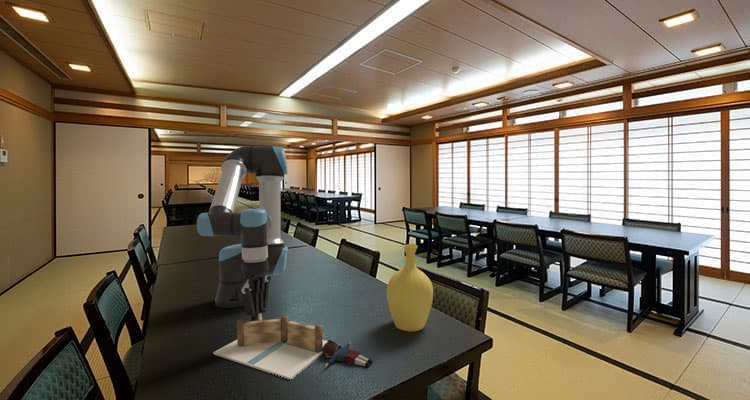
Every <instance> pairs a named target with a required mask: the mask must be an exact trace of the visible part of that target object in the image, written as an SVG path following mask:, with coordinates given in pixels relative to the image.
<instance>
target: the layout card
mask: <svg viewBox="0 0 750 400" xmlns="http://www.w3.org/2000/svg"><path fill="white" fill-rule="evenodd" d="M327 341H328V340H326V339H325V340H324V339H323V346H324V344H325V343H327ZM212 354H213V355H215V356H218V357H221V358H224V359H227V360H229V361H232V362H236V363H238V364H241V365H245V366H247V367H250V368H253V369H256V370H260V371H262V372H266V373H268V374H271V373H272V375H274V374H275V375H274V376H277V375H278V376H277V377H280V376H281V377H280V378H283V377H284V378H283V379H286V378H287V379H286V380H289V379H290V380H289V381H291V379H292V380H293V379H294V378H295V377H296V375H297V374H298V375H299V374H301V372H302V370H303V371H304V370H305V369H306V368H308V367H309V366H310V365H312V363H314V362H315V361H317V359H319V358H320V357H321V356H322V355H323V353H322V351H321V352H316V351H314V350H311V349H307V348H303V347H300V346H296V345H293V344H289V343H288V341H285V342H283V341H279V342H268V343H258V344H248V345H242V346H238V345H237V339H235V340H233V341H232V342H230V343H228V344H226V345H224V346H222V347H221V348H219V349H217V350H215V351H213V353H212ZM298 375H297V376H298Z"/></svg>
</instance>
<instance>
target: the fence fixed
mask: <svg viewBox="0 0 750 400" xmlns="http://www.w3.org/2000/svg"><path fill="white" fill-rule="evenodd" d="M323 327H324V326H323V324H315V325H309V324H306V323H302V322H297V321H294V320H293V321H292V320H290V321H289V320H288V343H289V344H293V345H296V346H300V347H303V348H307V349H311V350H314V351H316V352H321V351H322V348H323V340H324V339H323V338H324V337H323V336H324V333H323V329H324V328H323Z"/></svg>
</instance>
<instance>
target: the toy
mask: <svg viewBox="0 0 750 400" xmlns="http://www.w3.org/2000/svg"><path fill="white" fill-rule="evenodd" d="M326 341H327V343H325V344H324V346H323V348H322V353H323V354H322V355H323V356H324V357H325V358H329V360H328V361H327V363H325V365H324V366H325V368H327V367H328V366H329V365H331V364H333V363H335V362H337V361H338V362H342V363H346V364H348V365H352V366H355V365H357V366H364V367H365V368H367V369H368V368H369V367H370V366H371V365H372V364H373V359H371V358H367V357H365V356H363V355H362V354H361V352H360V351H356V350H354V349H353V350H352V349H349V347H350V346H351V344H352V342H351V341H350V342H349V343H347V344H345V345H344V346H342V345H339V344H337V342H335V341H334V340H331V339H327V340H326Z"/></svg>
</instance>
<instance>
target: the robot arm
mask: <svg viewBox="0 0 750 400" xmlns="http://www.w3.org/2000/svg"><path fill="white" fill-rule="evenodd" d="M286 156H287V155H286V150H285V149H284V148H283V147H281V146H274V145H268V146H267V145H243V146H240V147H237V148H236V149H234V150H232V151H231V152H229V153H228V155H226V157H225V158H224V159H223V162H222V164H221V165H220V171H221V175H220V178H219V181H218V184H217V187H216V191H215V193H214V196H213V198H212V202H211V205H210V208H209V210H208V212H202V213H200V214H198V216H197V218H196V219H197V220H196V230H197V233H198V234H199V235H200V236H202V237H222V236H227V237H228V236H240V239H241V241H240V242H241V243H239V244H232V245H228V246H226V247H223V248H221V250H220V251H219V254H218V267H219V268H218V272H219V286H218V289H217V292H216V296H215V298H214V305H215V306H216V307H218V308H222V309H232V308H233V309H234V308H239V307H243V308H244V310H245V311H244V312H245V315H246V316H250V317H251V321H260V320H263V314H265V313H266V311H267V310H266V308H267V307H268V299H269V298H268V297H269V289H270V282H271V279H272V277H271V276H275V275H282V274H284V272H285V269H286V265H287V259H288V258H287V257H288V248H289V247H288V246H286V245H285V241H284V240H283V239H282V237H281V226H282V225H281V223H282V221H281V218H282V217H281V215H282V214H281V212H282V211H281V199H282V198H281V189H282V188H281V183H282V182H283V181H284V180H285V175H288V171H289V170H288V164H287V157H286ZM247 174H255V179H256V180H257V181H258V182H259V185H258V189H259V191H258V192H259V196H258V202H259V203H258V204H259V205H258V208H246V209H243V210H241V211H240V212H235V210H236V209H235V208H236V205H237V202H238V197H239V194H240V189H241V186H242V182H243V179H244V178H245V177H246V175H247Z"/></svg>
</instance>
